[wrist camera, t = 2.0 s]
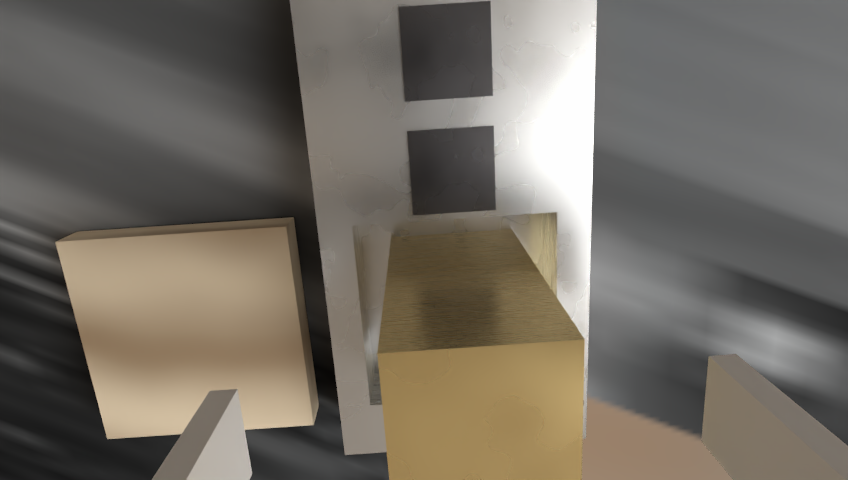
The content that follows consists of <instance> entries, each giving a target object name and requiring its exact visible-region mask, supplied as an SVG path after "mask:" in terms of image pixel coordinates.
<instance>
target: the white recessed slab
mask: <svg viewBox="0 0 848 480" xmlns="http://www.w3.org/2000/svg"><path fill="white" fill-rule="evenodd" d="M290 7H291V15H292V23H293V32H294V40H295V48H296V56H297V65H298V73H299V81H300V89H301V97H302V106H303V114H304V122H305V130H306V138H307V147H308V155H309V163H310V171H311V179H312V188H313V196H314V204H315V212H316V220H317V229H318V237H319V245H320V253H321V261H322V270H323V278H324V286H325V294H326V303H327V311H328V319H329V327H330V335H331V344H332V352H333V360H334V368H335V376H336V385H337V393H338V401H339V409H340V417H341V426H342V434H343V442H344V450H345V455H350V454H365V453H379V452H387V449H386V439H385V429H384V418H383V408H382V397H381V387H380V377H379V366H378V356H377V352H378V344H379V335H380V327H381V318H382V310H383V301H384V293H385V284H386V276H387V267H388V259H389V251H390V242H391V237H401V236H416V235H431V234H446V233H461V232H476V231H491V230H506V229H512V230H513V232H514V233H515V235H516V236H517V238H518V239H519V241H520V243H521V244H522V246H523V247H524V249H525V250H526V252H527V253H528V255H529V256H530V258H531V259H532V261H533V262H534V264H535V265H536V267H537V268H538V270H539V271H540V273H541V274H542V276H543V277H544V279H545V280H546V282H547V283H548V285H549V286H550V288H551V289H552V291H553V292H554V294H555V295H556V297H557V298H558V300H559V301H560V303H561V304H562V306H563V307H564V309H565V310H566V312H567V313H568V315H569V316H570V318H571V320H572V321H573V323H574V324H575V326H576V327H577V329H578V330H579V332H580V333H581V335H582V336H583V338H584V339H585V354H584V397H583V438H586V410H587V371H588V332H589V292H590V252H591V212H592V172H593V132H594V92H595V52H596V12H597V0H290Z"/></svg>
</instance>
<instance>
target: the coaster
mask: <svg viewBox="0 0 848 480" xmlns="http://www.w3.org/2000/svg"><path fill="white" fill-rule="evenodd" d="M55 243H56V247H57V250H58V254H59V258H60V262H61V265H62V269H63V273H64V277H65V281H66V284H67V288H68V292H69V296H70V300H71V303H72V307H73V311H74V315H75V318H76V322H77V326H78V330H79V334H80V337H81V341H82V345H83V349H84V352H85V356H86V360H87V364H88V368H89V371H90V375H91V379H92V383H93V386H94V390H95V394H96V398H97V402H98V405H99V409H100V413H101V417H102V420H103V424H104V428H105V432H106V436H107V439H116V438H130V437H145V436H159V435H174V434H182V433H183V431H184V430H185V428H186V427H187V425H188V423H189V422H190V420H191V419H192V417H193V416H194V414H195V413H196V411H197V410H198V408H199V407H200V405H201V404H202V402H203V400H204V399H205V397H206V396H207V394H208V393H209V391H215V390H229V389H238V395H239V401H240V406H241V412H242V418H243V424H244V429H245V430H247V429H262V428H277V427H291V426H306V425H314V421H315V418H316V414H317V410H318V407H319V402H318V395H317V387H316V380H315V372H314V365H313V357H312V350H311V342H310V335H309V327H308V320H307V313H306V305H305V298H304V290H303V283H302V275H301V268H300V260H299V253H298V245H297V238H296V230H295V223H294V217H289V218H274V219H259V220H244V221H229V222H214V223H199V224H184V225H169V226H154V227H139V228H124V229H109V230H93V231H78V232H75V233H73V234H71V235H69V236H67V237H65V238H63V239H60V240H58V241H56V242H55Z"/></svg>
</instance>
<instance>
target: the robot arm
mask: <svg viewBox="0 0 848 480" xmlns="http://www.w3.org/2000/svg"><path fill="white" fill-rule="evenodd" d="M702 443H703V444H704V445H705V446H706V447H707V449H708V450H709V451H710V452H711V454H712V455H713V456H714V457H715V458H716V459H717V461H718V462H719V463H720V464H721V466H722V467H723V468H724V469H725V470H726V471H727V473H728V474H729V475H730V477H731V478H732V479H733V480H848V446H847V445H846V444H845V443H844V442H842V441H841V440H840V439H839V438H837V437H836V436H835V435H834V434H833V433H831V432H830V431H829V430H828V429H827V428H825V427H824V426H823V425H822V424H820V423H819V422H818V421H817V420H816V419H814V418H813V417H812V416H811V415H809V414H808V413H807V412H806V411H805V410H803V409H802V408H801V407H800V406H799V405H797V404H796V403H795V402H794V401H792V400H791V399H790V398H789V397H788V396H786V395H785V394H784V393H783V392H781V391H780V390H779V389H778V388H777V387H775V386H774V385H773V384H772V383H771V382H769V381H768V380H767V379H766V378H764V377H763V376H762V375H761V374H760V373H758V372H757V371H756V370H755V369H753V368H752V367H751V366H750V365H749V364H747V363H746V362H745V361H744V360H743V359H741V358H740V357H739V356H738V355H736V354H731V355H717V356H709V359H708V371H707V383H706V394H705V406H704V418H703V430H702ZM251 475H252V470H251V464H250V458H249V452H248V447H247V441H246V435H245V429H244V424H243V418H242V412H241V406H240V401H239V395H238V389H229V390H215V391H209V393H208V394H207V396H206V397H205V399H204V400H203V402H202V404H201V405H200V407H199V408H198V410H197V411H196V413H195V414H194V416H193V417H192V419H191V420H190V422H189V423H188V425H187V427H186V428H185V430H184V431H183V433H182V434H181V436H180V437H179V439H178V440H177V442H176V443H175V445H174V446H173V448H172V450H171V451H170V453H169V454H168V456H167V457H166V459H165V460H164V462H163V463H162V465H161V466H160V468H159V470H158V471H157V473H156V474H155V476H154V477H153V479H152V480H250V477H251Z"/></svg>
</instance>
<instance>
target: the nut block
mask: <svg viewBox="0 0 848 480" xmlns="http://www.w3.org/2000/svg"><path fill="white" fill-rule="evenodd" d="M584 354H585V339H584V338H583V336H582V335H581V333H580V332H579V330H578V329H577V327H576V326H575V324H574V323H573V321H572V320H571V318H570V316H569V315H568V313H567V312H566V310H565V309H564V307H563V306H562V304H561V303H560V301H559V300H558V298H557V297H556V295H555V294H554V292H553V291H552V289H551V288H550V286H549V285H548V283H547V282H546V280H545V279H544V277H543V276H542V274H541V273H540V271H539V270H538V268H537V267H536V265H535V264H534V262H533V261H532V259H531V258H530V256H529V255H528V253H527V252H526V250H525V249H524V247H523V246H522V244H521V243H520V241H519V239H518V238H517V236H516V235H515V233H514V232H513V230H512V229H506V230H491V231H476V232H461V233H446V234H431V235H416V236H401V237H391V242H390V251H389V259H388V267H387V276H386V284H385V293H384V301H383V310H382V318H381V327H380V335H379V344H378V352H377V356H378V366H379V377H380V387H381V397H382V408H383V418H384V429H385V439H386V449H387V460H388V470H389V480H582V439H583V397H584Z"/></svg>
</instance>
